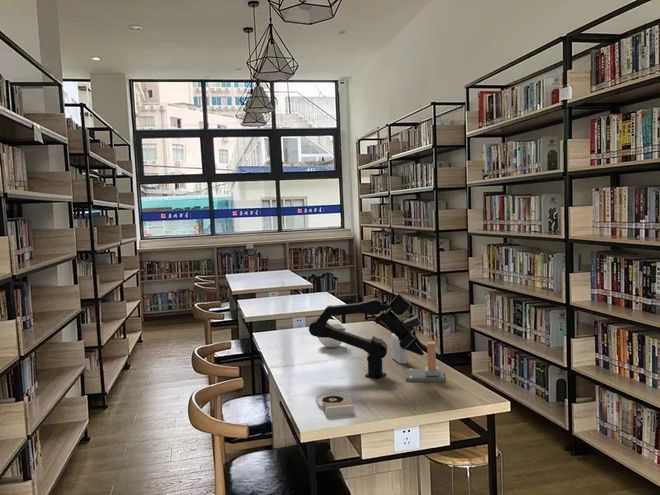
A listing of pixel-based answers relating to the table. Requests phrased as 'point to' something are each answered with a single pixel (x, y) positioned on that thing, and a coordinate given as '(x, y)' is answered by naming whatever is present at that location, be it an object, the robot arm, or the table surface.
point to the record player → (335, 403)
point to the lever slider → (431, 360)
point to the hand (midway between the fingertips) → (422, 351)
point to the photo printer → (398, 351)
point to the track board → (423, 376)
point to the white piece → (329, 341)
